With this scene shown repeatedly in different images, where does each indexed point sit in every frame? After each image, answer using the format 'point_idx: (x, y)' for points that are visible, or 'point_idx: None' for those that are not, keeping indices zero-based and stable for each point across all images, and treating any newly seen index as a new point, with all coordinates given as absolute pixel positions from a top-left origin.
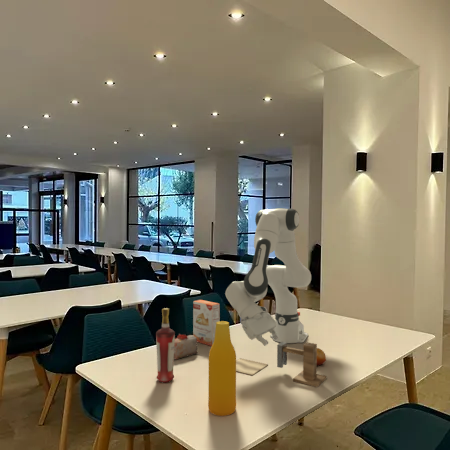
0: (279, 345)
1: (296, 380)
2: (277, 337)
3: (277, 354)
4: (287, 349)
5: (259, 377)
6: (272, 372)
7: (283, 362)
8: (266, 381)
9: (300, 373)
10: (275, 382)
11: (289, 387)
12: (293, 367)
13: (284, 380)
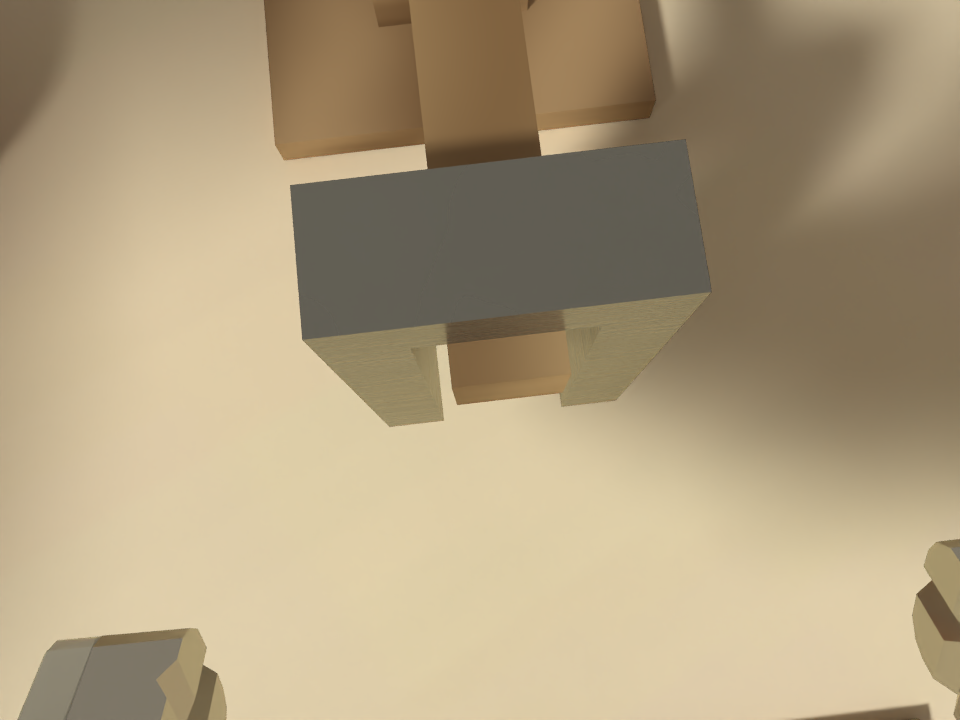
0: (696, 220)
1: (644, 56)
2: (141, 638)
3: (655, 349)
4: (530, 92)
5: (883, 578)
6: (564, 533)
7: (437, 367)
8: (928, 402)
9: (403, 115)
10: (860, 281)
11: (860, 51)
12: (154, 385)
13: (706, 222)
